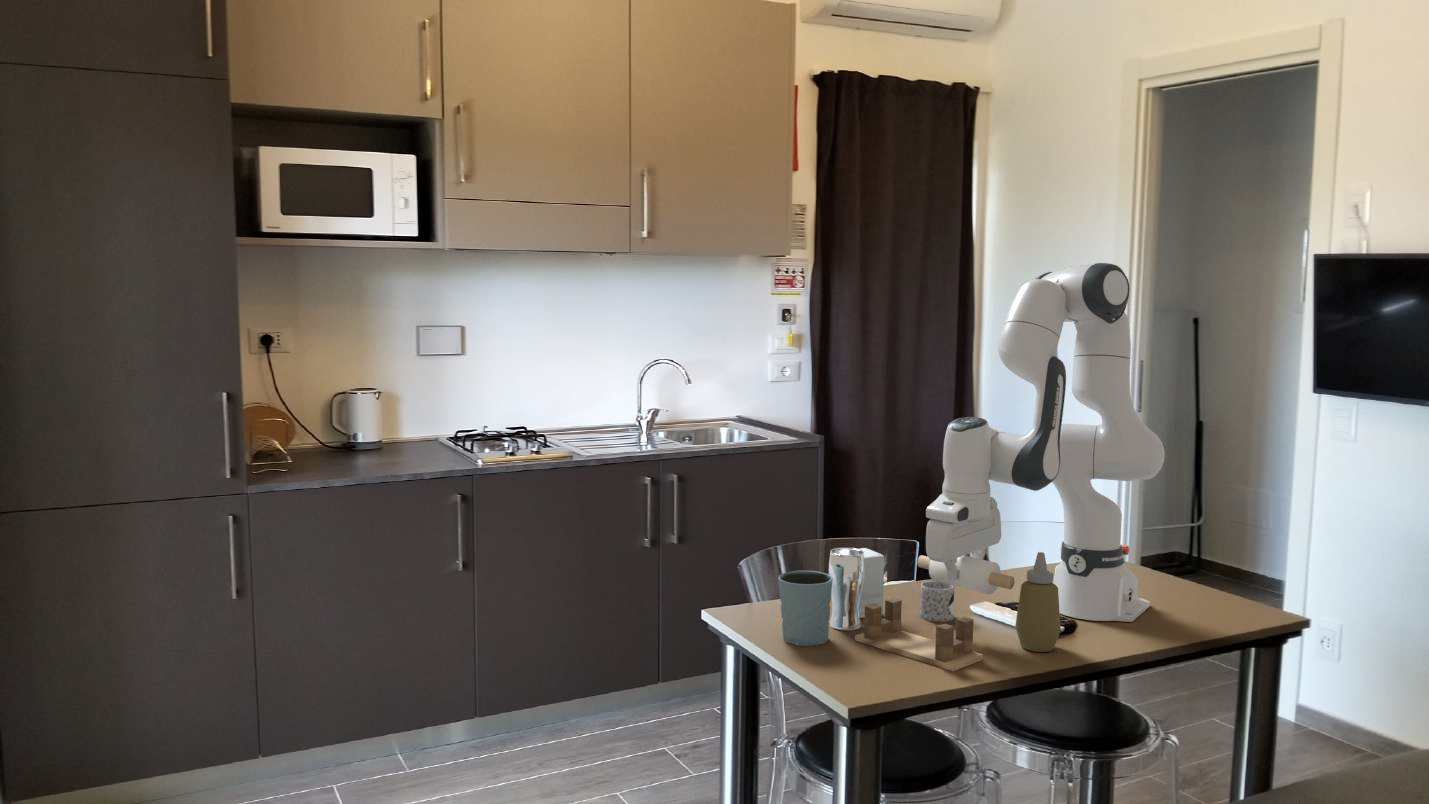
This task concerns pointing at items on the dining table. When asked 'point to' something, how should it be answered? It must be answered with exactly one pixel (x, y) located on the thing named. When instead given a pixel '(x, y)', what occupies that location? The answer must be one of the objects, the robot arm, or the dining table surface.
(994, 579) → the paper roll
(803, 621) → the embossed teal cup
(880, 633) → the roll holder
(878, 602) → the supplement box
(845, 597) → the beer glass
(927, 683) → the dining table surface
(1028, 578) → the squeeze bottle
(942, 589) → the mug
